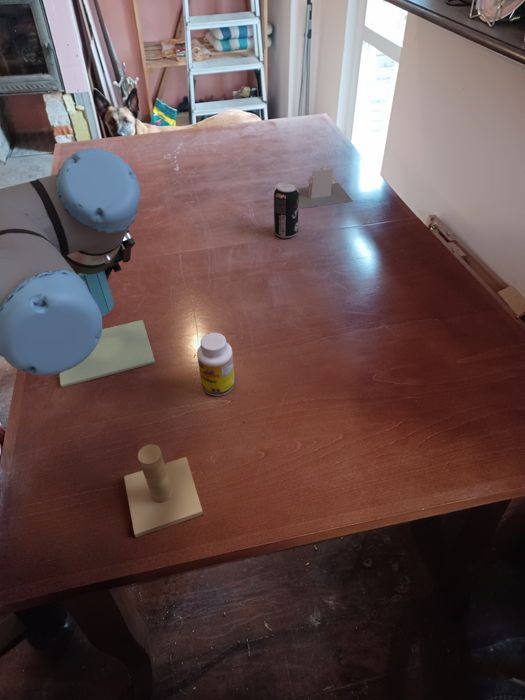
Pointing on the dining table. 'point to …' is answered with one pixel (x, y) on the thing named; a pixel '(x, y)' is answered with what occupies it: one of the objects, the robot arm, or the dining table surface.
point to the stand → (160, 492)
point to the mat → (113, 354)
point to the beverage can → (286, 210)
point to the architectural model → (322, 190)
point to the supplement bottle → (216, 364)
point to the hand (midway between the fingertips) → (77, 283)
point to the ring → (99, 290)
